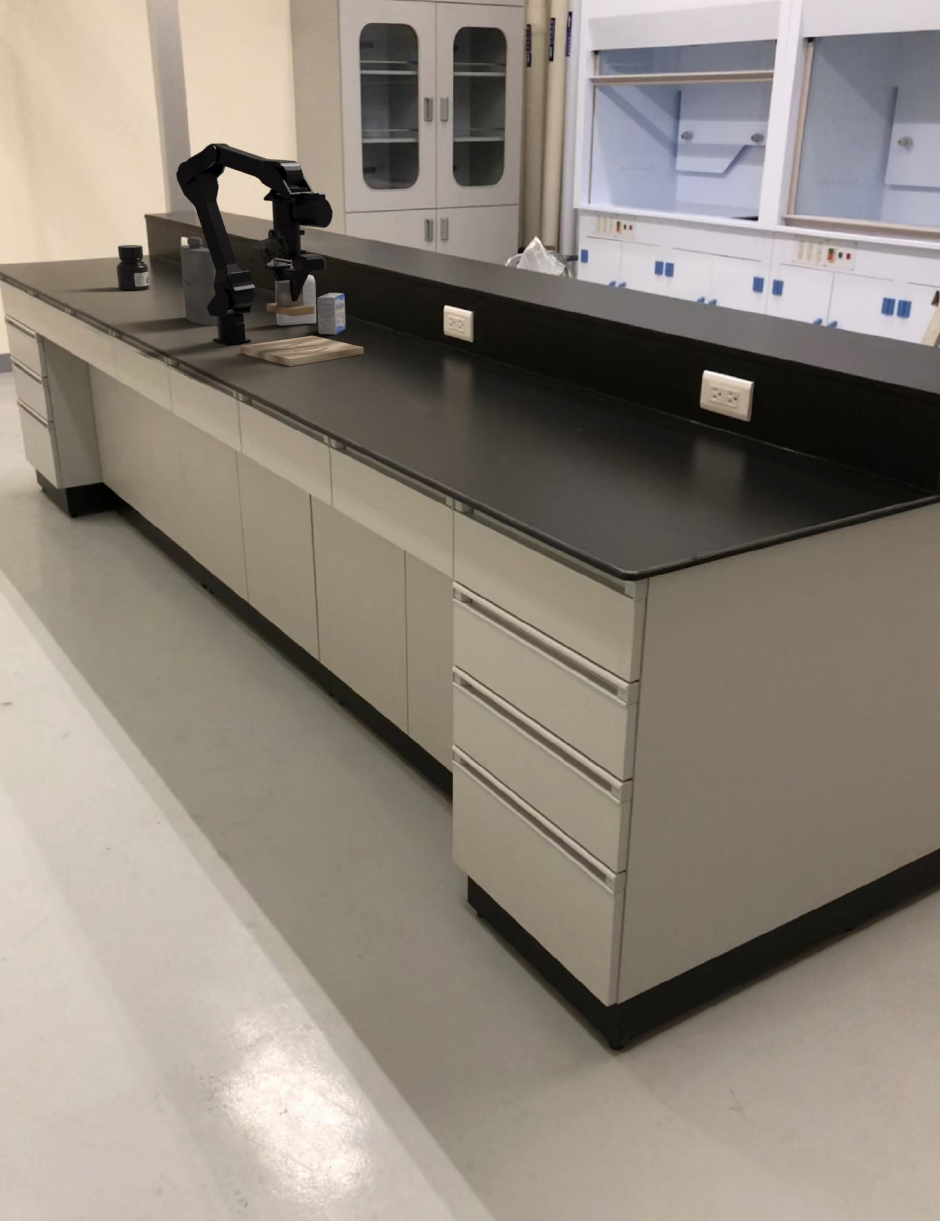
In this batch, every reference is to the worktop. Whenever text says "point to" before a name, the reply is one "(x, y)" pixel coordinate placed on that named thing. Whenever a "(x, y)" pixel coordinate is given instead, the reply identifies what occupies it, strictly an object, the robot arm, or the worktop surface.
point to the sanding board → (301, 350)
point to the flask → (198, 281)
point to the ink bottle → (132, 268)
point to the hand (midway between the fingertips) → (289, 300)
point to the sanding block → (288, 302)
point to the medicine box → (331, 313)
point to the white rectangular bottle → (308, 299)
